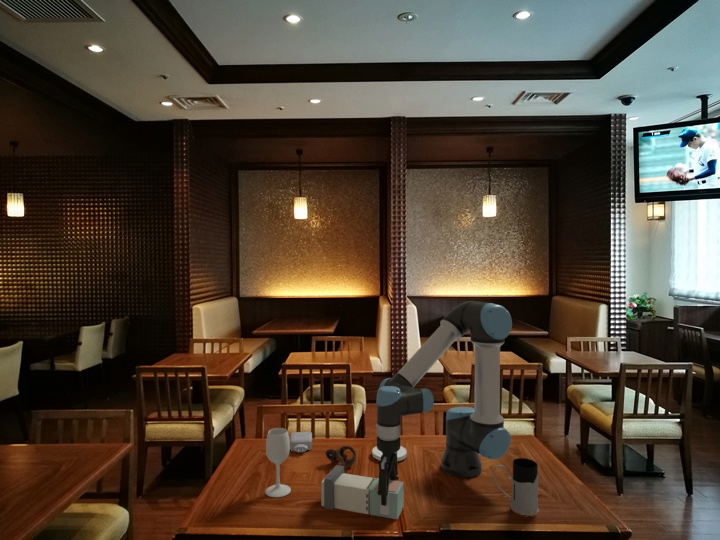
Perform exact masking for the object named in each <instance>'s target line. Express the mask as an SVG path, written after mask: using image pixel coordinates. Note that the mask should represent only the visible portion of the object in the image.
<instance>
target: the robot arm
mask: <svg viewBox="0 0 720 540" xmlns="http://www.w3.org/2000/svg"><path fill="white" fill-rule="evenodd" d="M439 324H440V326H438V328H437V329H436V330H435V331H434V332H433V333H432V334H431V335H430V336H429V337H428V339H426V341H425V342H423V344H422V345H420V348H418V349H417V351H416V352H415V353H414V354H413V355H412V356H411V358H409V359H408V361H407V362H406V363H405V364H404V365H403V366H402V367H401V368H400V369H399V370H398V371H397V373H395V375H394V376H393V377H388V378H385V379H382V381H381V382H380V385H379V388H378V389H377V392H376V393H377V394H376V401H375V403H376V424H375V425H374V427H375V428H376V436H377V437H376V446H377V449H378V450H379V451H381V452H382V453H383V454H382V455H381V461H379V462H378V478H379V483H378V492H377V494H378V495H380V514H384V515H389V493H388V489H389V480H393V481H399V479H400V478H399V476H398V475H399V468H398V464H399V463H398V461H397V451H398V450H399V449H400V446H401V418H402V417H406V416H410V415H416V414H424V413H427V412H430V411H431V410H432V409H433V408H434V403H435V402H434V400H435V399H434V395H433V393H432V392H431V389H428V388H421V387H419V388H414V387H415V386H417V384H418V383H419V382H420V380H422V379H423V377H424V376H425V375H426V374H427V372H428V371H429V370H430V369H431V368H432V367H433V366H434V365H435V364H436V363H437V361H438V360H439V359H440V358H441V357H442V356H443V355H444V354H445V352H446V351H447V350H448V349H449V348H450V347H451V346H452V345H453V344H454V342H456V340H460V339H462V338H463V336H464V335H466V334H468V333H470V342H471V343H472V344H473V346H474V407H470V406H469V407H468V406H455V407H452V408H451V407H450V408H449V409H448V410H447V411H446V413H445V414H446V416H445V449H444V452H443V455H442V458H441V460H440V461H441V462H440V466H441V470H442V471H443V472H444V473H447V474H448V475H450V476H453V477H457V478H458V477H459V478H473V477H477V476H479V475H480V474H481V473H482V468H483V467H482V461H481V457H483V458H486V459H489V460H492V461H493V460H498V459H501V458H502V457H503V456H504V455H506V453H507V451H508V450H509V449H510V445H511V443H512V437H511V434H510V432H509V431H508V430H507V428H505V427H504V426H505V425H504V424H505V423H504V422H505V421H504V417H503V416H502V415H501V414H500V395H501V394H500V392H501V391H500V388H501V387H500V385H501V383H500V382H501V377H500V375H501V373H500V372H501V346H503V345H504V344H505V339H506V338H507V337H508V336H509V335H510V332H511V331H512V329H513V328H512V327H513V321H512V316H511V314H510V312H509V311H508V310H507V308H505V307H504V306H503V305H501V304H496V303H494V302H493V303H492V302H491V303H490V302H480V301H474V300H469V301H468V300H467V301H465V302H462V303H460V304H458V305H457V306H455V307H454V308H453V309H452V310H450V311H449V312H448V313H447V314H445V316H444V317H443V318H442V319H441V320H440V323H439ZM480 456H481V457H480Z"/></svg>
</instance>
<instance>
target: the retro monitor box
mask: <svg viewBox="0 0 720 540" xmlns="http://www.w3.org/2000/svg"><path fill="white" fill-rule="evenodd" d="M378 483H379V477H376V480H375V482H374V483H373V485H372V486H371V488H370V512H369V515H371V516H377V517H382V518H387V519H393V520H399V517H400V515H401V513H402V511H403V509H404V493H405V491H404V486H405V485H404V482H403V481H399V480H395V481H393V480H390V479H389V489H388V493H389V515H384V514H380V495H378V494H377V492H378ZM402 508H403V509H402Z"/></svg>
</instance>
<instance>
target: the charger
mask: <svg viewBox="0 0 720 540" xmlns="http://www.w3.org/2000/svg"><path fill="white" fill-rule="evenodd" d="M289 441H290V450H291V452H296V453H304V452H306V451H307V450H309V451H311V449H312V450H313V433H312V432H311V431H300V432H299V431H296V432H294V431H293V432H291V433H290V436H289ZM307 452H308V451H307Z"/></svg>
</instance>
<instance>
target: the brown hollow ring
mask: <svg viewBox="0 0 720 540" xmlns="http://www.w3.org/2000/svg"><path fill="white" fill-rule="evenodd" d="M347 450H349V451H350V452H351V453H352V454H353V456H352V457H351V458H348V457H349V454H345V451H347ZM325 456H326V458H327V459H328V460H329V461H330V462H331V464H333V463H335V462H336V461H338V462H339V463H340V466H344V470H345V469H347V468H349V467H351V466H352V465H354V464H355V462H356V460H357V454H356V451H355V449H354V448H353V447H351V446H348V445H340V446H339V447H338V448H337V449H334V448H333V449H332V448H330V449H329V448H328V449H326V451H325ZM344 460H345V461H344Z"/></svg>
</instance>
